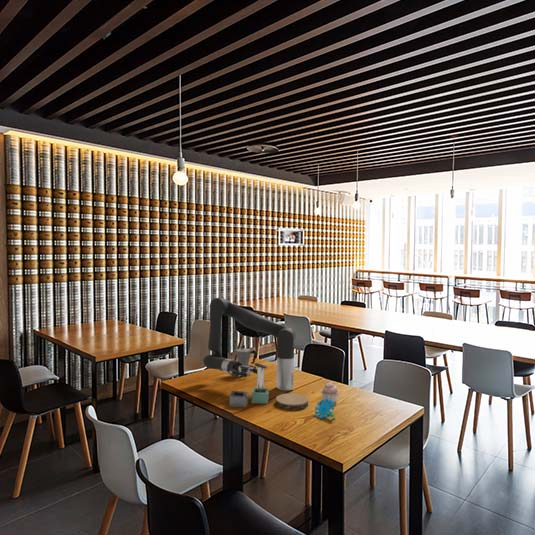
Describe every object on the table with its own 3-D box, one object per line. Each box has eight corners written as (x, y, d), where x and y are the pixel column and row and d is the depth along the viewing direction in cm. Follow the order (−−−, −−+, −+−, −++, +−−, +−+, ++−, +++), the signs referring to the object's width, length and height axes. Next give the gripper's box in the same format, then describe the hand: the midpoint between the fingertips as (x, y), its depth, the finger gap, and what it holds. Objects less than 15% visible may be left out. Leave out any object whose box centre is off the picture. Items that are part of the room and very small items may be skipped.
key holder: (268, 398, 211) (268, 388, 211) (267, 403, 203) (267, 393, 203) (253, 397, 212) (253, 387, 211) (251, 402, 204) (251, 392, 203)
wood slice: (276, 410, 195) (276, 404, 195) (275, 398, 211) (275, 392, 211) (309, 411, 195) (309, 405, 195) (306, 399, 211) (306, 393, 211)
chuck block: (247, 401, 205) (248, 391, 205) (245, 407, 197) (246, 397, 197) (231, 400, 206) (232, 391, 206) (229, 406, 198) (229, 396, 198)
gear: (309, 410, 191) (323, 394, 193) (316, 417, 194) (329, 401, 196) (324, 422, 181) (338, 404, 184) (330, 429, 184) (344, 412, 187)
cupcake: (339, 399, 211) (340, 380, 211) (338, 405, 202) (338, 385, 202) (321, 397, 214) (322, 378, 213) (319, 403, 205) (319, 383, 204)
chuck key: (252, 399, 209) (253, 363, 208) (256, 397, 211) (257, 362, 211) (263, 403, 203) (264, 366, 203) (267, 401, 206) (268, 365, 205)
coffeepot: (230, 375, 249) (230, 345, 249) (236, 371, 258) (237, 342, 258) (253, 378, 244) (254, 348, 243) (259, 374, 253) (260, 345, 252)
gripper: (221, 362, 217) (242, 368, 206) (241, 357, 227) (262, 363, 216) (221, 376, 217) (242, 383, 206) (241, 371, 227) (262, 378, 216)
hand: (252, 373), depth 211 cm, fingers open, 8 cm apart
